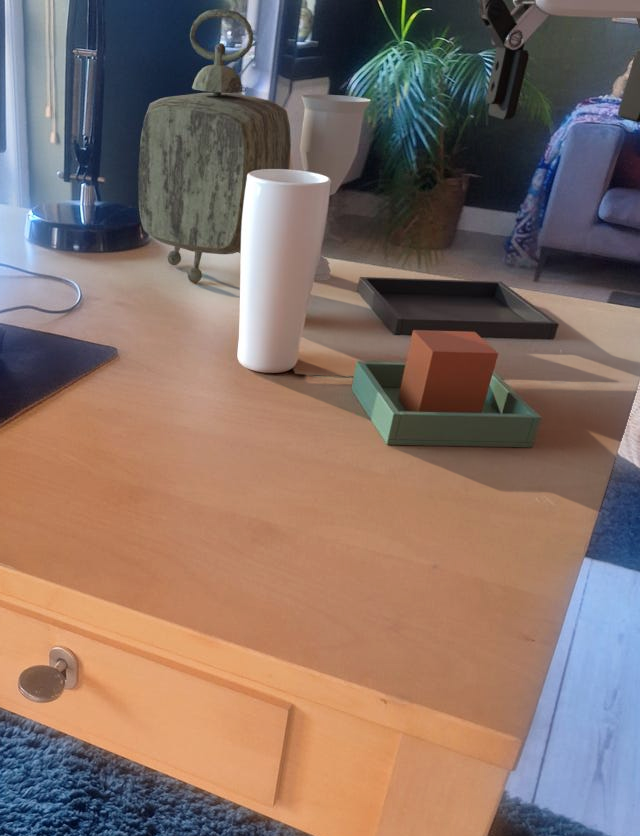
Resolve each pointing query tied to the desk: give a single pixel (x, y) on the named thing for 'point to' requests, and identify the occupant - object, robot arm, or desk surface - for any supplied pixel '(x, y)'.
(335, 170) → the chalice
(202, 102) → the tabletop clock
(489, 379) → the block
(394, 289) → the pan
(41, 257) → the desk surface
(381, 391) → the tray
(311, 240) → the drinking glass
